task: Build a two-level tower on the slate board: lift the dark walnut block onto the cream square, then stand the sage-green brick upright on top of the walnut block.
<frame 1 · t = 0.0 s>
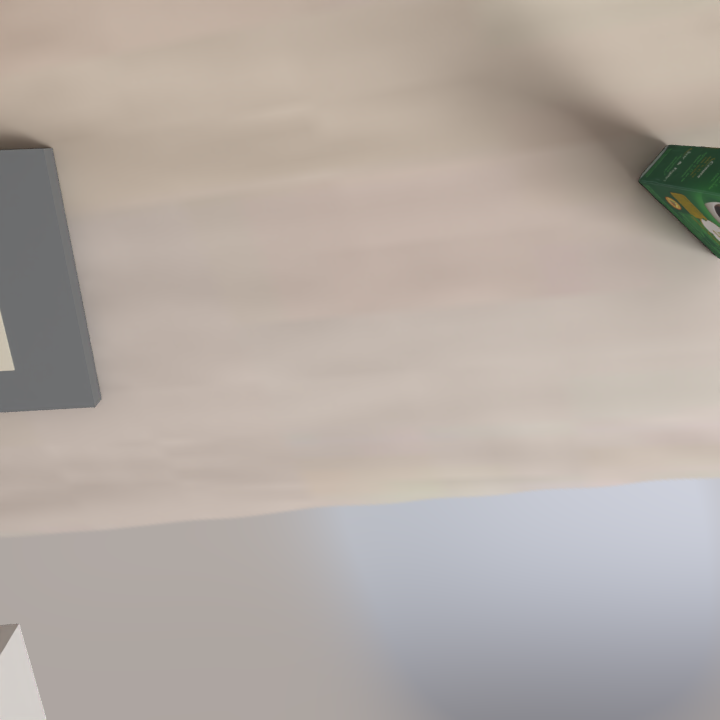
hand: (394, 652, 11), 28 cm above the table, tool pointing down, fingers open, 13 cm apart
coffee box: (693, 203, 37), on the table
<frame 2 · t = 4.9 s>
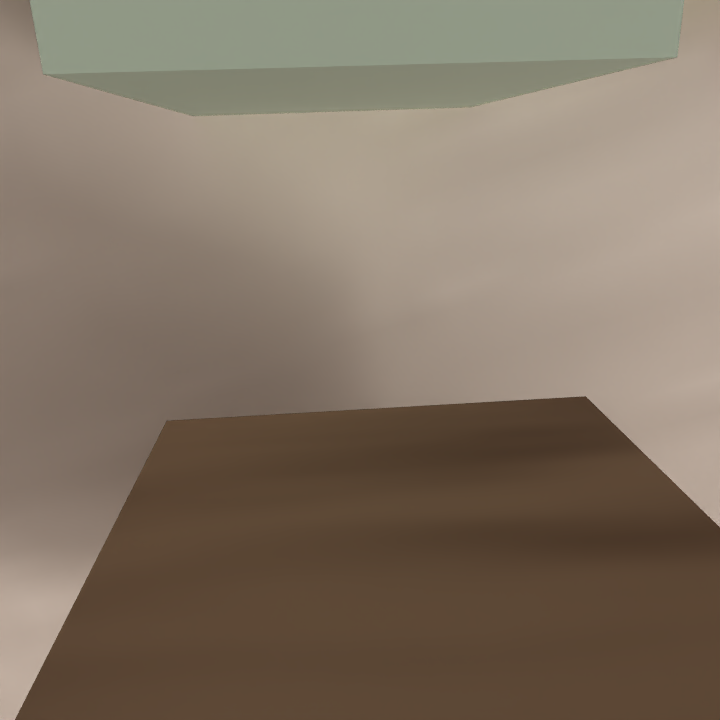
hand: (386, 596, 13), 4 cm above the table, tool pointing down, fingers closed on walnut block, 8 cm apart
walnut block: (383, 579, 13), point 3 cm above the table, touching gripper
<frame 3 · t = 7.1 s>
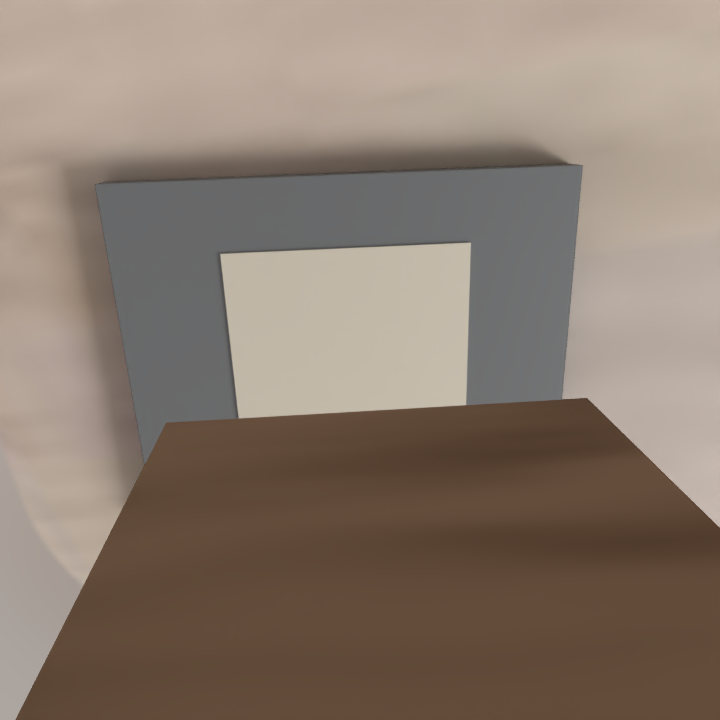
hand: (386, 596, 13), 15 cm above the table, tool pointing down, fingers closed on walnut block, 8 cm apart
walnut block: (384, 581, 13), point 14 cm above the table, touching gripper
blueprint board: (349, 354, 27), on the table
when the fingers open (2 cm above the table, at t = 9.7 s): walnut block stays where it is, resting on blueprint board.
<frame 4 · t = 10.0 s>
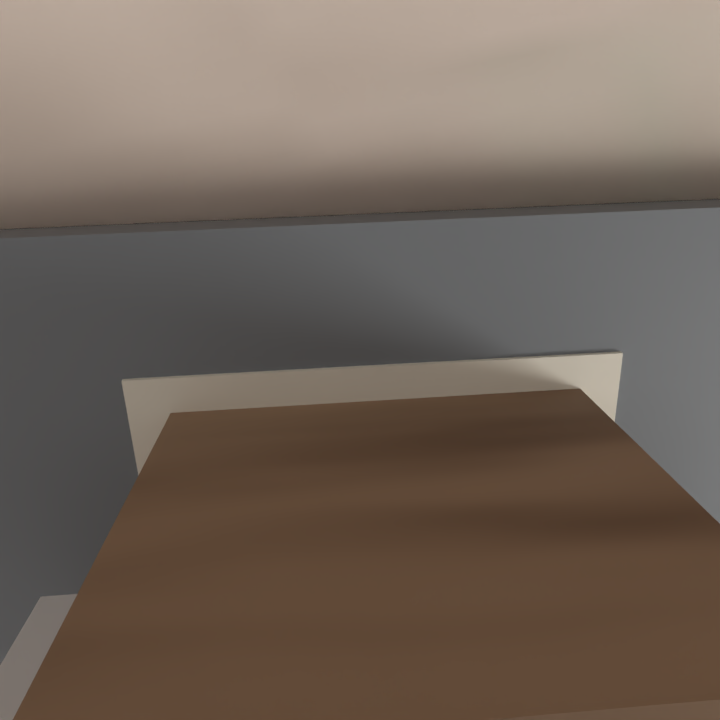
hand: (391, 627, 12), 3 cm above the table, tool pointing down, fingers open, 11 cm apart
walnut block: (383, 568, 13), point 1 cm above the table, touching blueprint board
blueprint board: (377, 535, 15), on the table
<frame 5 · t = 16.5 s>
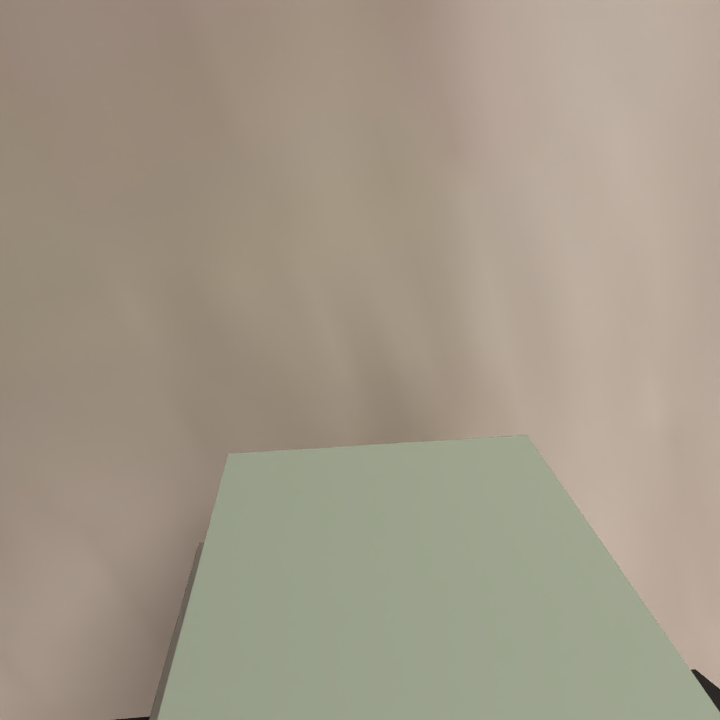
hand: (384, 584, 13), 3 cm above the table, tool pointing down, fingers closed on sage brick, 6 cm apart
sage brick: (382, 566, 13), point 3 cm above the table, touching gripper
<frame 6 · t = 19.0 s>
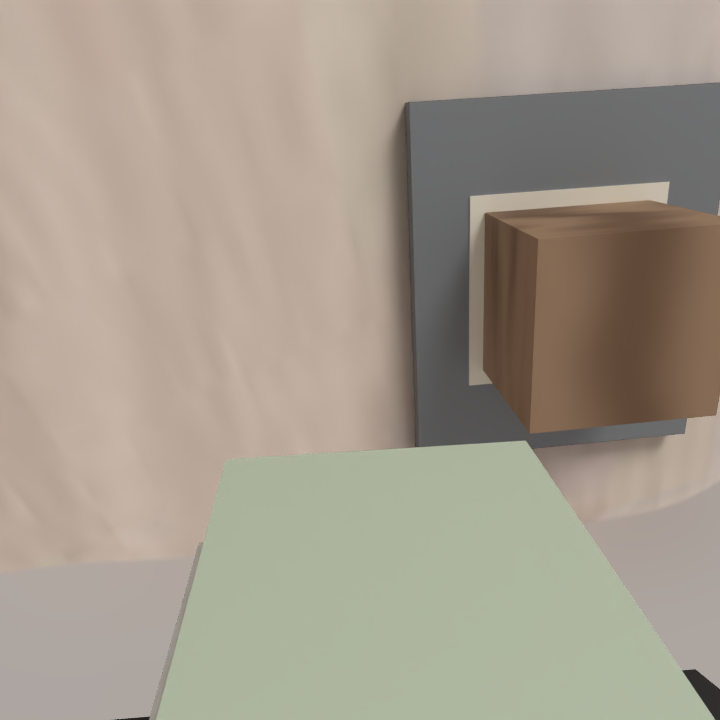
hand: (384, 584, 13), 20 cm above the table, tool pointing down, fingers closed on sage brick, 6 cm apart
walnut block: (562, 288, 31), point 1 cm above the table, touching blueprint board
sage brick: (381, 572, 13), point 19 cm above the table, touching gripper
blueprint board: (554, 282, 32), on the table
when the fingers open (10 cm above the table, at t = 21.9 s): sage brick drops 1 cm, resting on walnut block.
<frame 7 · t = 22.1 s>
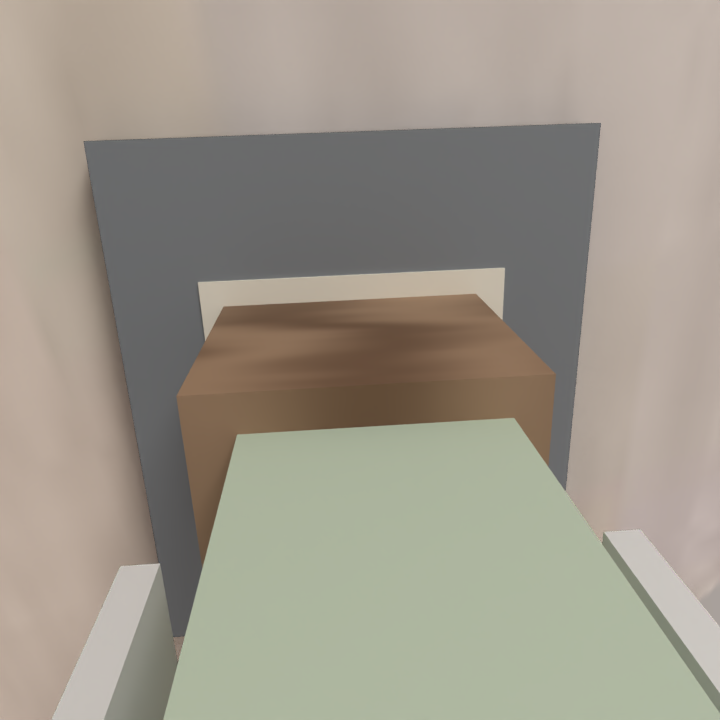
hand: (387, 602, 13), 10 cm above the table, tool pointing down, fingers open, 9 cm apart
walnut block: (355, 414, 21), point 1 cm above the table, touching blueprint board, sage brick
sage brick: (380, 542, 14), point 8 cm above the table, touching walnut block
blueprint board: (356, 399, 22), on the table
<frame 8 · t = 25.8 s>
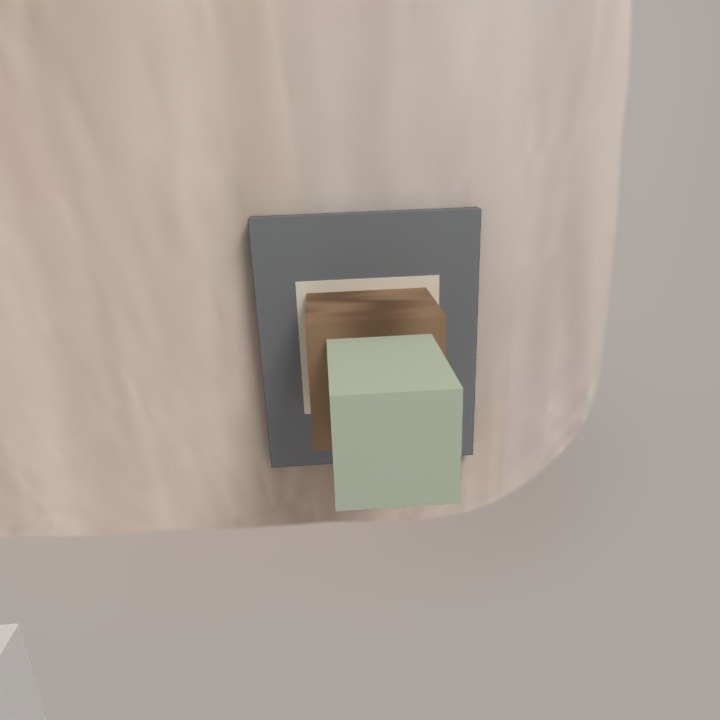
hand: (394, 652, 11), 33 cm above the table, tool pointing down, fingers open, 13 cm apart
walnut block: (368, 346, 43), point 1 cm above the table, touching blueprint board, sage brick
sage brick: (380, 385, 36), point 8 cm above the table, touching walnut block
blueprint board: (368, 341, 44), on the table
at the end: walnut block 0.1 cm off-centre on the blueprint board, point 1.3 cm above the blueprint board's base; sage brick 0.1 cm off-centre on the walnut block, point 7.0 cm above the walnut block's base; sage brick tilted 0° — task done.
